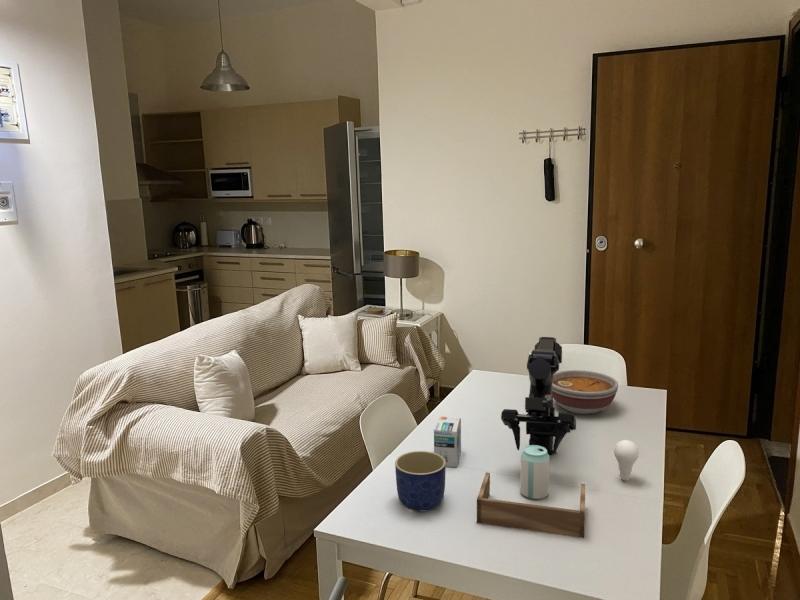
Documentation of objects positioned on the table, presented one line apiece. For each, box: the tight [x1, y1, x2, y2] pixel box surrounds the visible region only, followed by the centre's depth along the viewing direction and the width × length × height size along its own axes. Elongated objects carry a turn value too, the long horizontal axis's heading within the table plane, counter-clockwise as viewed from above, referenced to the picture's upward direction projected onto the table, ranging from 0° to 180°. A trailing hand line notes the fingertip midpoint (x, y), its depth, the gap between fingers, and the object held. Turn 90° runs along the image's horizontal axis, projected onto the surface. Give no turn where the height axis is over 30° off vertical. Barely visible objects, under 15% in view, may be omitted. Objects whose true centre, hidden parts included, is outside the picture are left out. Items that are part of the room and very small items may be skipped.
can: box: [519, 444, 551, 500], centre depth 154 cm, size 7×7×12 cm
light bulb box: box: [433, 415, 462, 468], centre depth 175 cm, size 11×7×11 cm, turn 169°
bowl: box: [551, 369, 619, 415], centre depth 209 cm, size 23×23×10 cm
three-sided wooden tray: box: [476, 471, 586, 539], centre depth 146 cm, size 14×24×6 cm, turn 73°
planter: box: [394, 450, 447, 512], centre depth 152 cm, size 12×12×11 cm
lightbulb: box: [613, 439, 640, 481], centre depth 160 cm, size 6×6×11 cm
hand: (535, 451), depth 157 cm, fingers open, 9 cm apart
